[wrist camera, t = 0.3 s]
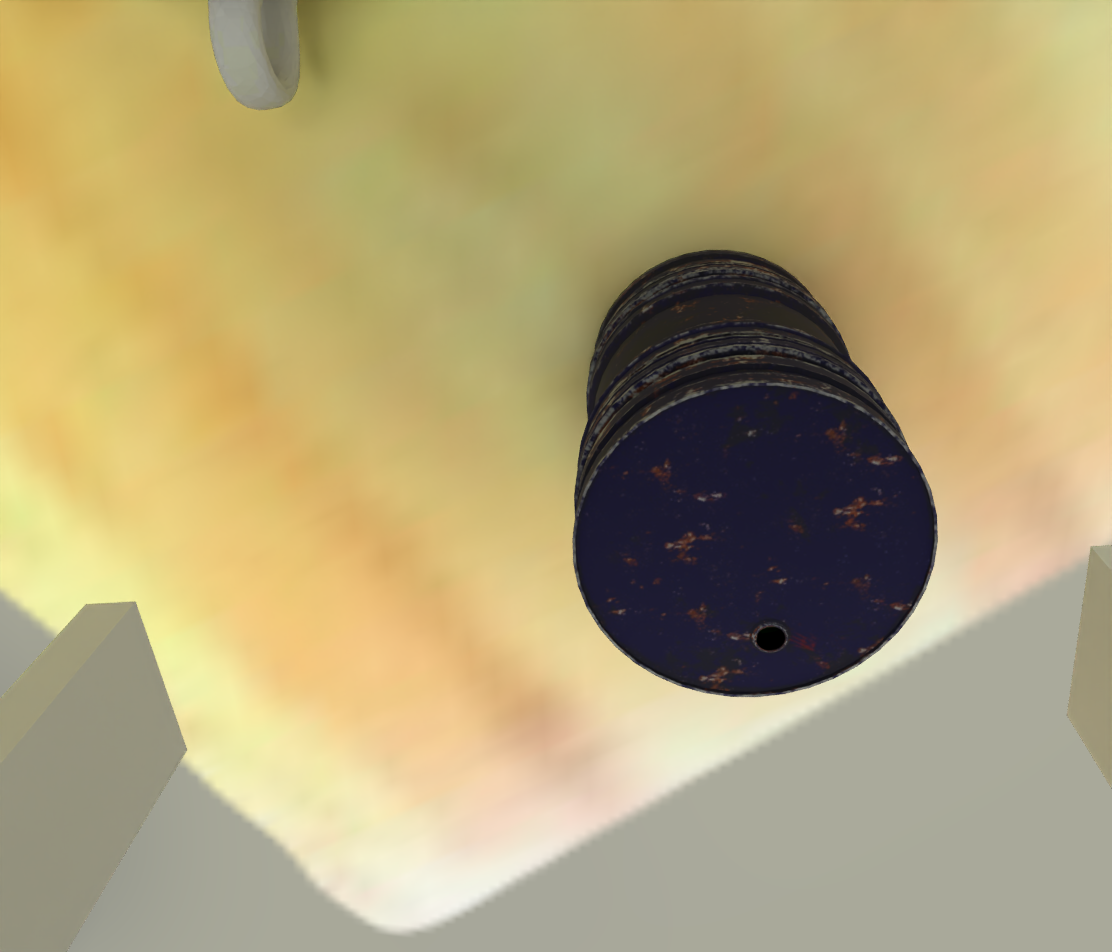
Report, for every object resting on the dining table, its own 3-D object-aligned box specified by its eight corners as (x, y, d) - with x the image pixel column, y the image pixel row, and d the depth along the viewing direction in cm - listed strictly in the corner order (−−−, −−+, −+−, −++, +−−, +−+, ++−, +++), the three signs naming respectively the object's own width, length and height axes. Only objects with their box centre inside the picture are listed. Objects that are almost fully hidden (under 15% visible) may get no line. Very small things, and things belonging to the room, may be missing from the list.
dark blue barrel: (562, 280, 38) (524, 424, 25) (814, 216, 37) (918, 334, 23) (622, 500, 42) (617, 727, 29) (852, 451, 41) (960, 668, 27)
